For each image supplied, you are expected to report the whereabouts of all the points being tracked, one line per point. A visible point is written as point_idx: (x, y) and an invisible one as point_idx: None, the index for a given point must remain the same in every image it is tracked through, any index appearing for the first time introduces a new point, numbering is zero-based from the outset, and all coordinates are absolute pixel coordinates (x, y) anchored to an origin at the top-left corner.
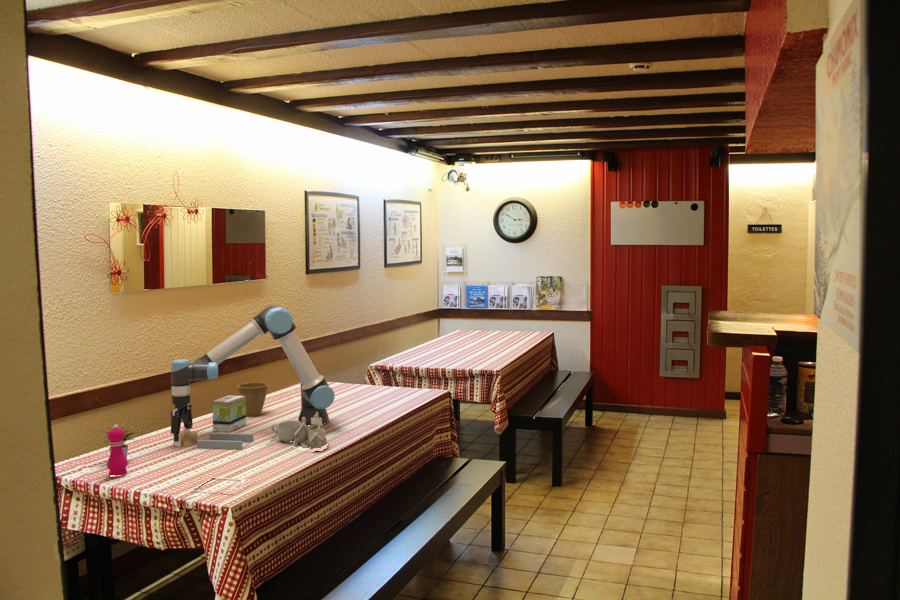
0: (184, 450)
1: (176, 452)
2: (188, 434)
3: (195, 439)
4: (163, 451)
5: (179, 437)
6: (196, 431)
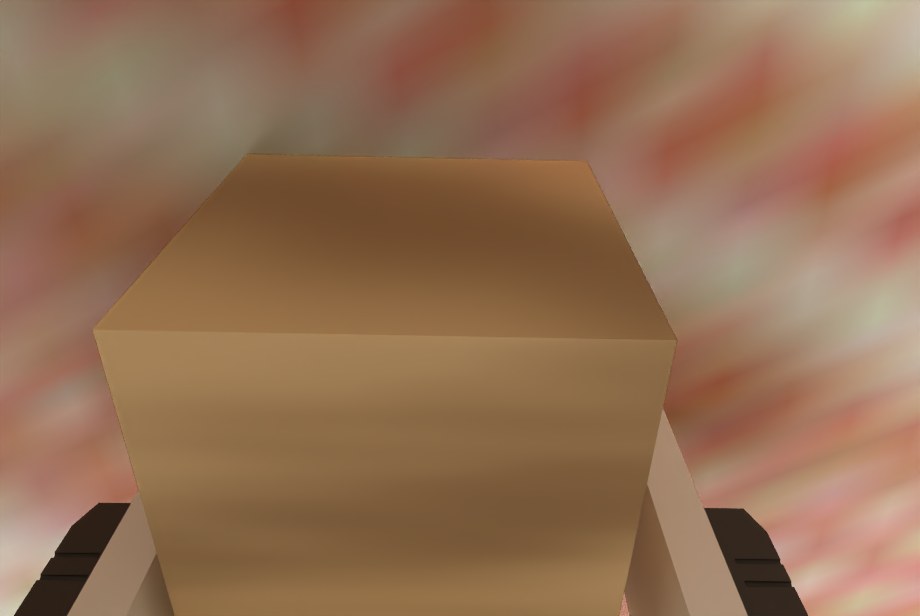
0: (762, 224)
1: (895, 316)
2: (577, 442)
3: (323, 215)
4: (775, 541)
5: (720, 565)
6: (102, 358)
